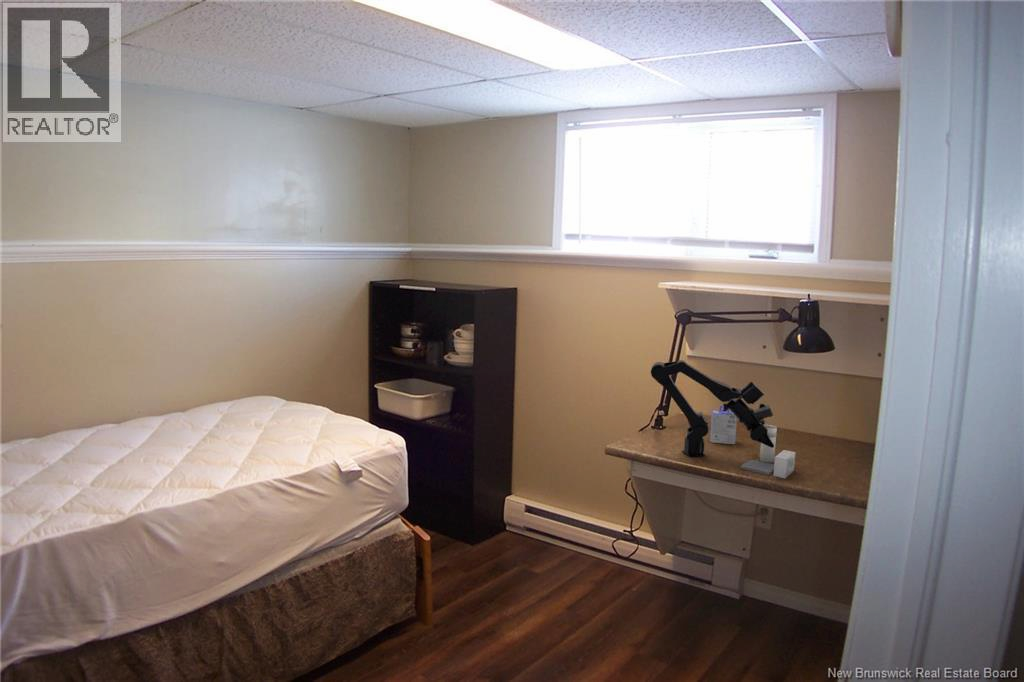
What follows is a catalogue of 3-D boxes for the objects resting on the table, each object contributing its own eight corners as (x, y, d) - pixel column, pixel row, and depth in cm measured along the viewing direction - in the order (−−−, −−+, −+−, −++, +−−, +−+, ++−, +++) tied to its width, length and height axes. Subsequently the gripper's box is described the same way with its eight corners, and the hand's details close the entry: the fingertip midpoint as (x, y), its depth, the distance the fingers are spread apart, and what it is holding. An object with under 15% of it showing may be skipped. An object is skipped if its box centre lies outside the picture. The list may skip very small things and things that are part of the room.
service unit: (772, 475, 247) (774, 456, 245) (781, 468, 254) (783, 449, 253) (785, 478, 244) (787, 459, 243) (794, 471, 252) (795, 452, 251)
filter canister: (765, 463, 260) (767, 428, 258) (756, 459, 265) (759, 425, 263) (777, 462, 261) (779, 428, 259) (768, 458, 266) (771, 424, 264)
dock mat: (740, 468, 253) (740, 466, 253) (750, 462, 261) (750, 459, 261) (769, 475, 247) (769, 472, 247) (778, 467, 255) (778, 465, 255)
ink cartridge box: (734, 440, 288) (736, 406, 285) (735, 444, 282) (738, 409, 280) (709, 439, 290) (711, 404, 287) (710, 442, 284) (712, 407, 282)
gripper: (762, 404, 251) (793, 437, 250) (758, 392, 269) (786, 423, 268) (737, 423, 255) (767, 456, 254) (734, 411, 272) (763, 441, 271)
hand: (772, 443), depth 262 cm, fingers open, 8 cm apart
